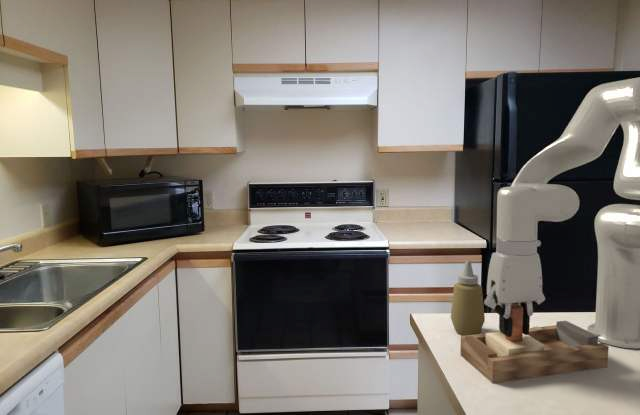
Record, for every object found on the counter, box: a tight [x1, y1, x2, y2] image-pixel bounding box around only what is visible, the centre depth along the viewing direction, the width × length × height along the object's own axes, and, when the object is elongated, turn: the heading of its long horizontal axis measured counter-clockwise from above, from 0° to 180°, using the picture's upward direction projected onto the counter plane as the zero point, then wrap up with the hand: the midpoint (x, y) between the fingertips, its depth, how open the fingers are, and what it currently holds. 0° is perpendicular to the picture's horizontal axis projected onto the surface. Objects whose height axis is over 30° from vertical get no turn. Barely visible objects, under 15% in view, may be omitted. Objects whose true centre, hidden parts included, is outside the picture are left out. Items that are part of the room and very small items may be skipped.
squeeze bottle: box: [450, 260, 486, 336], centre depth 105 cm, size 8×8×18 cm
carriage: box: [485, 303, 544, 356], centre depth 89 cm, size 8×8×10 cm
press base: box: [460, 320, 610, 384], centre depth 90 cm, size 26×12×6 cm, turn 101°
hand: (514, 332), depth 89 cm, fingers closed on carriage, 3 cm apart
